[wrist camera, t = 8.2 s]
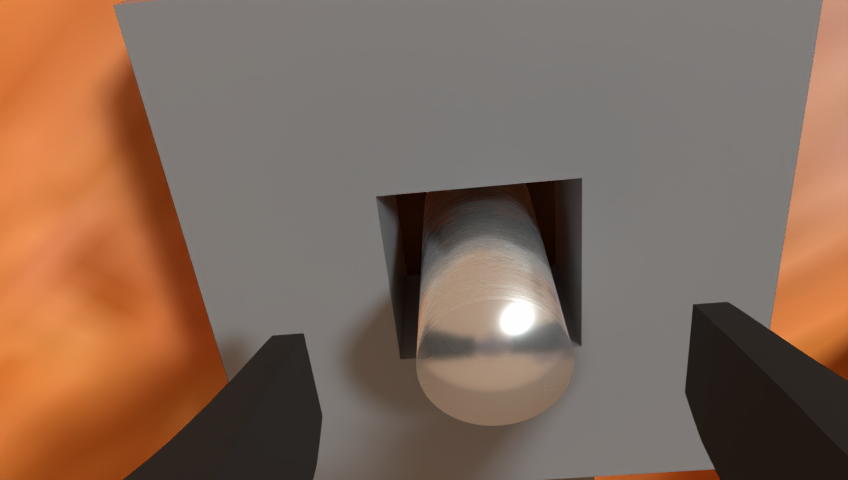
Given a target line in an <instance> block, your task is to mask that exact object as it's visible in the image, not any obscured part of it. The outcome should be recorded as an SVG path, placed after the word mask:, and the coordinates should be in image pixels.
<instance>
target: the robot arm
mask: <svg viewBox="0 0 848 480" xmlns="http://www.w3.org/2000/svg"><path fill="white" fill-rule="evenodd" d="M685 394H686V397H687V400H688V404H689V407H690V410H691V413H692V416H693V419H694V422H695V424H696V427H697V430H698V433H699V436H700V438H701V441H702V443H703V445H704V448H705V450H706V452H707V454H708V456H709V458H710V460H711V462H712V464H713V466H714V468H715V470H716V472H717V474H718V476H719V478H720V480H848V381H847V380H846V379H844V378H842V377H841V376H839V375H837V374H836V373H834V372H833V371H831V370H829V369H828V368H826V367H825V366H823V365H822V364H820V363H818V362H817V361H815V360H814V359H812V358H811V357H809V356H808V355H806V354H805V353H803V352H802V351H800V350H799V349H797V348H796V347H794V346H793V345H791V344H790V343H788V342H787V341H785V340H784V339H782V338H781V337H779V336H778V335H777V334H775V333H774V332H772V331H771V330H769V329H768V328H766V327H765V326H763V325H762V324H761V323H759V322H758V321H756V320H755V319H753V318H752V317H750V316H749V315H747V314H746V313H744V312H743V311H741V310H740V309H738V308H737V307H735V306H734V305H732V304H731V303H729V302H717V303H704V304H693V311H692V321H691V332H690V343H689V353H688V364H687V375H686V385H685ZM322 417H323V416H322V411H321V407H320V402H319V398H318V394H317V389H316V385H315V381H314V376H313V372H312V367H311V363H310V359H309V354H308V350H307V346H306V341H305V337H304V333H299V334H286V335H273V336H271V337H270V338H269V339H268V340H267V341H266V343H265V344H264V345H263V346H262V347H261V348H260V349H259V350H258V351H257V352H256V353H255V355H254V356H253V357H252V358H251V359H250V360H249V361H248V362H247V363H246V364H245V366H244V367H243V368H242V369H241V370H240V371H239V372H238V373H237V374H236V375H235V376H234V378H233V379H232V380H231V381H230V382H229V383H228V384H227V385H226V386H225V387H224V388H223V389H222V390H221V391H220V392H219V393H218V394H217V396H216V397H215V398H214V399H213V400H212V401H211V402H210V403H209V404H208V405H207V406H206V407H205V408H204V409H203V410H202V411H201V412H200V413H199V414H197V415H196V416H195V417H194V418H193V419H192V420H191V421H190V422H189V423H188V424H187V425H186V426H185V427H184V428H183V429H182V430H181V431H180V432H179V433H178V434H177V435H176V436H175V437H173V438H172V439H171V440H170V441H169V442H168V443H167V444H166V445H165V446H163V447H162V448H161V449H160V450H159V451H158V452H157V453H155V454H154V455H153V456H152V457H151V458H149V459H148V460H147V461H146V462H145V463H143V464H142V465H141V466H140V467H138V468H137V469H136V470H135V471H133V472H132V473H131V474H130V475H128V476H127V477H126V478H125V479H123V480H313V479H314V474H315V470H316V466H317V460H318V452H319V444H320V435H321V426H322Z"/></svg>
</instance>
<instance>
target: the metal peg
mask: <svg viewBox="0 0 848 480" xmlns="http://www.w3.org/2000/svg"><path fill="white" fill-rule="evenodd" d="M573 369H574V354H573V349H572V345H571V342H570V338H569V334H568V331H567V327H566V324H565V320H564V316H563V313H562V309H561V306H560V302H559V298H558V295H557V291H556V287H555V284H554V280H553V277H552V273H551V269H550V266H549V262H548V259H547V255H546V251H545V248H544V244H543V241H542V237H541V233H540V230H539V226H538V223H537V219H536V215H535V212H534V208H533V205H532V201H531V197H530V194H529V191H528V188H527V186H526V184H525V183H520V184H509V185H497V186H486V187H475V188H464V189H452V190H441V191H430V192H427V195H426V198H425V205H424V223H423V242H422V261H421V280H420V299H419V318H418V337H417V356H416V371H417V376H418V380H419V383H420V386H421V388H422V389H423V391H424V393H425V394H426V396H427V397H428V398H429V400H430V401H431V402H432V403H433V404H434V405H435V406H436V407H438V408H439V409H440V410H442V411H443V412H445V413H446V414H448V415H450V416H452V417H454V418H456V419H458V420H461V421H464V422H467V423H472V424H477V425H485V426H500V425H509V424H514V423H518V422H521V421H525V420H527V419H530V418H532V417H535V416H536V415H538V414H540V413H542V412H544V411H545V410H546V409H548V408H549V407H551V406H552V405H553V404H554V403H555V402H556V401H557V400H558V399H559V398H560V397H561V395H562V394H563V393H564V391H565V390H566V388H567V387H568V384H569V382H570V380H571V377H572V373H573Z"/></svg>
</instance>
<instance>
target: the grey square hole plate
mask: <svg viewBox="0 0 848 480" xmlns="http://www.w3.org/2000/svg"><path fill="white" fill-rule="evenodd" d="M822 1H823V0H126V1H123V2H121V3H118V4H116V5H114V9H115V12H116V15H117V19H118V22H119V25H120V28H121V32H122V35H123V38H124V42H125V45H126V48H127V51H128V55H129V58H130V61H131V65H132V68H133V71H134V74H135V78H136V81H137V84H138V87H139V91H140V94H141V97H142V101H143V104H144V107H145V110H146V114H147V117H148V120H149V124H150V127H151V130H152V133H153V137H154V140H155V143H156V147H157V150H158V153H159V156H160V160H161V163H162V166H163V170H164V173H165V176H166V179H167V183H168V186H169V189H170V193H171V196H172V199H173V202H174V206H175V209H176V212H177V215H178V219H179V222H180V225H181V229H182V232H183V235H184V238H185V242H186V245H187V248H188V252H189V255H190V258H191V261H192V265H193V268H194V271H195V275H196V278H197V281H198V284H199V288H200V291H201V294H202V298H203V301H204V304H205V307H206V311H207V314H208V317H209V321H210V324H211V327H212V330H213V334H214V337H215V340H216V343H217V347H218V350H219V353H220V357H221V360H222V363H223V366H224V370H225V373H226V376H227V380H228V383H229V382H230V381H231V380H232V379H233V378H234V376H235V375H236V374H237V373H238V372H239V371H240V370H241V369H242V368H243V367H244V366H245V364H246V363H247V362H248V361H249V360H250V359H251V358H252V357H253V356H254V355H255V353H256V352H257V351H258V350H259V349H260V348H261V347H262V346H263V345H264V344H265V343H266V341H267V340H268V339H269V338H270V337H271V336H273V335H286V334H299V333H304V337H305V341H306V346H307V350H308V354H309V359H310V363H311V367H312V372H313V376H314V381H315V385H316V389H317V394H318V398H319V402H320V407H321V411H322V416H323V417H322V426H321V435H320V444H319V452H318V460H317V466H316V470H315V474H314V479H313V480H547V479H564V478H580V477H597V476H613V475H630V474H646V473H662V472H679V471H695V470H712V469H715V468H714V466H713V464H712V462H711V460H710V458H709V456H708V454H707V452H706V450H705V448H704V445H703V443H702V441H701V438H700V436H699V433H698V430H697V427H696V424H695V422H694V419H693V416H692V413H691V410H690V407H689V404H688V400H687V397H686V394H685V385H686V375H687V364H688V353H689V343H690V332H691V321H692V311H693V304H704V303H717V302H729V303H731V304H732V305H734V306H735V307H737V308H738V309H740V310H741V311H743V312H744V313H746V314H747V315H749V316H750V317H752V318H753V319H755V320H756V321H758V322H759V323H761V324H762V325H763V326H765V327H766V328H768V329H769V330H770V325H771V318H772V312H773V306H774V300H775V294H776V287H777V281H778V275H779V269H780V262H781V256H782V250H783V244H784V238H785V231H786V225H787V219H788V213H789V206H790V200H791V194H792V188H793V182H794V175H795V169H796V163H797V157H798V150H799V144H800V138H801V132H802V126H803V119H804V113H805V107H806V101H807V94H808V88H809V82H810V76H811V70H812V63H813V57H814V51H815V45H816V38H817V32H818V26H819V20H820V14H821V7H822ZM553 180H555V232H556V264H549V266H550V269H551V273H552V277H553V280H554V284H555V287H556V291H557V295H558V298H559V302H560V306H561V309H562V313H563V316H564V320H565V324H566V327H567V331H568V334H569V338H570V342H571V345H572V349H573V354H574V369H573V373H572V377H571V380H570V382H569V384H568V387H567V388H566V390H565V391H564V393H563V394H562V395H561V397H560V398H559V399H558V400H557V401H556V402H555V403H554V404H553V405H552V406H551V407H549V408H548V409H546V410H545V411H544V412H542V413H540V414H538V415H536V416H535V417H532V418H530V419H527V420H525V421H521V422H518V423H514V424H509V425H500V426H485V425H477V424H472V423H467V422H464V421H461V420H458V419H456V418H454V417H452V416H450V415H448V414H446V413H445V412H443V411H442V410H440V409H439V408H438V407H436V406H435V405H434V404H433V403H432V402H431V401H430V400H429V398H428V397H427V396H426V394H425V393H424V391H423V389H422V388H421V386H420V383H419V380H418V376H417V371H416V356H417V337H418V318H419V299H420V280H421V275H410V276H407V272H406V265H405V257H404V250H403V243H402V235H401V228H400V221H399V213H398V206H397V199H396V194H408V193H419V192H430V191H441V190H452V189H464V188H475V187H486V186H497V185H509V184H520V183H531V182H542V181H553Z"/></svg>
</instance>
